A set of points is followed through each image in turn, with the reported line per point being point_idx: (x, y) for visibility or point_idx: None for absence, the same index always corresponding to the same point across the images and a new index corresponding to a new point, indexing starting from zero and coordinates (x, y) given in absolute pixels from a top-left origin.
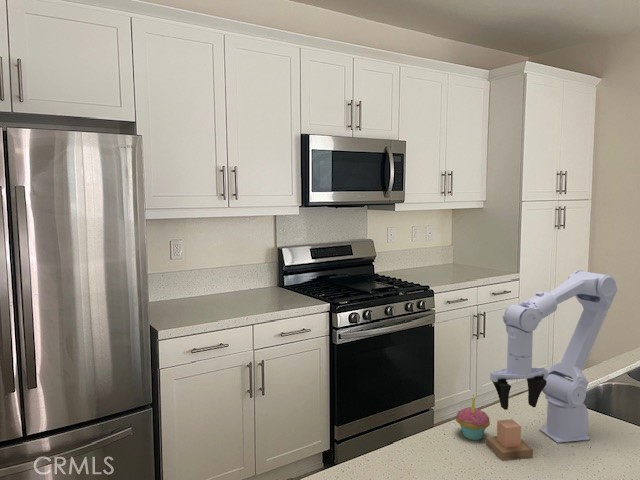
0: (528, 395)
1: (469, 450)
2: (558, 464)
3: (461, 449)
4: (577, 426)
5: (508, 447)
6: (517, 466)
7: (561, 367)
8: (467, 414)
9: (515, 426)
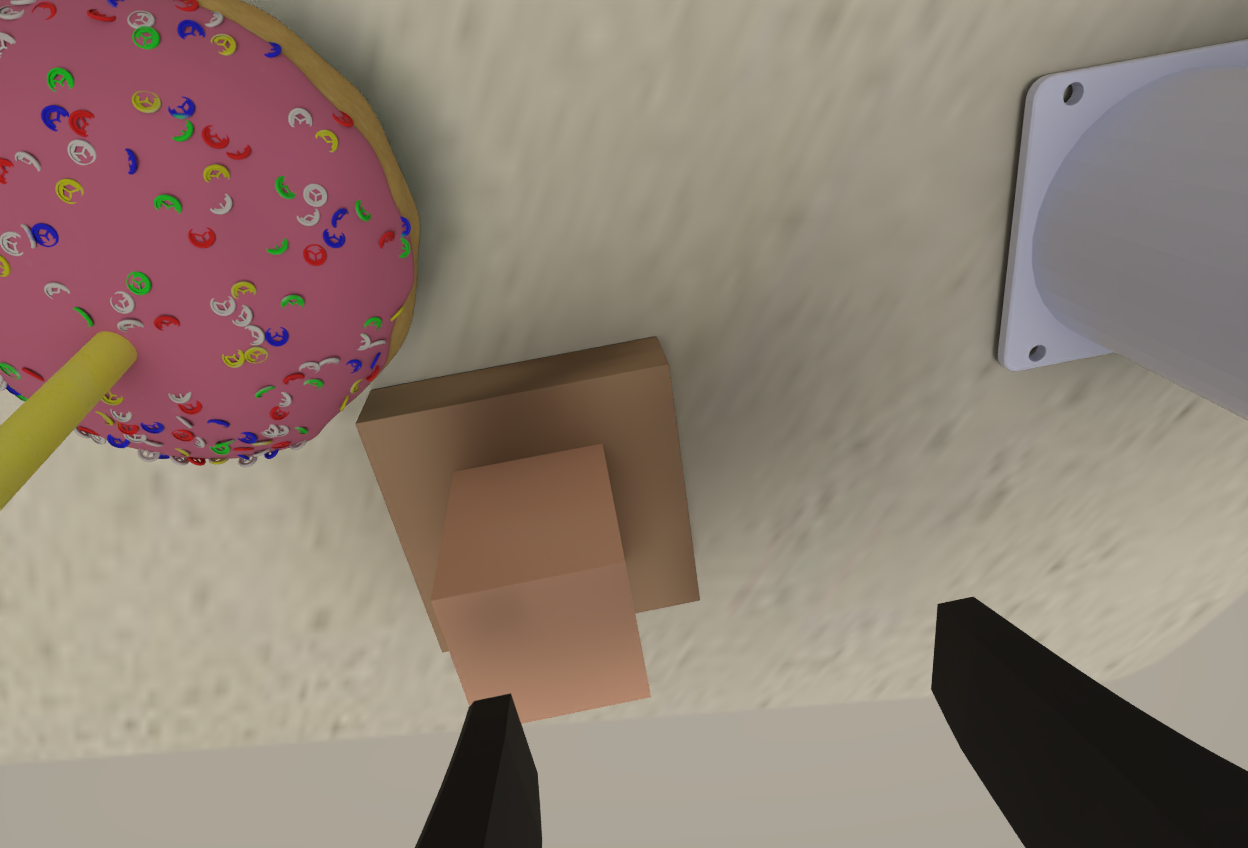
0: (1029, 689)
1: (205, 482)
2: (806, 623)
3: (130, 469)
4: None
5: None
6: None
7: None
8: (31, 375)
9: (591, 702)
